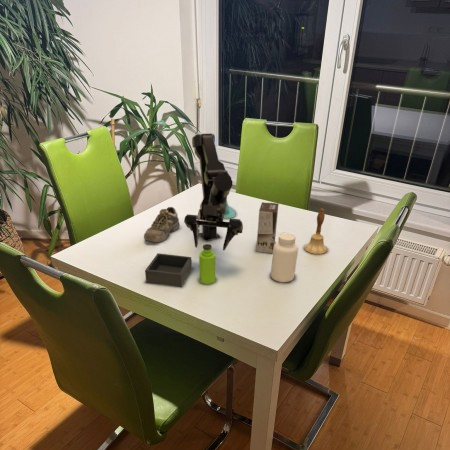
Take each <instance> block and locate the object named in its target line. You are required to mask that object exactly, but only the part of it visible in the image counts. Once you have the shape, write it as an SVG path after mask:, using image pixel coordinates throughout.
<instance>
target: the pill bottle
mask: <svg viewBox="0 0 450 450" xmlns="http://www.w3.org/2000/svg"><path fill="white" fill-rule="evenodd" d="M298 253H299V246H298V244H297V243H296V235H295V234H293V233H290V232H281V233H279V235H278V240H277V241H275V244H274V248H273V252H272V258H271V268H270V276H271V278H272V279H273V280H274V281H277V282H280V283H288V282H291V281H293V280H294V278H295V275H296V269H297V268H296V266H297V259H298V255H299V254H298Z"/></svg>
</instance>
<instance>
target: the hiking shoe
mask: <svg viewBox="0 0 450 450" xmlns="http://www.w3.org/2000/svg"><path fill="white" fill-rule="evenodd" d="M178 215H179V214H178V212H177V209H176V208H175V207H173V206H168V207H167V208H161V209H160V210H159V214H157V216H156V217H155V219H154V221H152V224H151V225H150V227H148V228H147V229H146V230H145V232H144V233H143V239H144V240H146V241H150V242H154V243H160V242H164V241H166V240H167V239H168V237H169V233H171V232H172V233H173V232H175V231H178V230H179V228H180V226H181V224H180V220H179V216H178Z"/></svg>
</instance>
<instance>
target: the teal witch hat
mask: <svg viewBox="0 0 450 450" xmlns="http://www.w3.org/2000/svg"><path fill="white" fill-rule="evenodd" d="M235 216H236V212H235V210H234V209H233V208H231V207H230V206H229V202H228V199H227V200H226V214H224V219H223V220H228V219H229V220H230V218H231V219H234V217H235Z"/></svg>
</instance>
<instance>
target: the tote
mask: <svg viewBox="0 0 450 450" xmlns="http://www.w3.org/2000/svg"><path fill="white" fill-rule="evenodd" d="M192 264H193V263H192V256H187V255H186V256H185V255H175V254H167V253H160V252H159V253H158V252H157V253H156V255H155V256H154V258H153V259H151V261H150V263H149V264H148V265H147V267H146V268H145V270H144V274H145V282H146V283H149V284H156V285H157V284H158V285H166V286H174V287H180V288H181V287H183V286H184V284H185V282H186V280H187V278H188V277H189V275H190V273H191V271H192V269H193V265H192Z"/></svg>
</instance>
